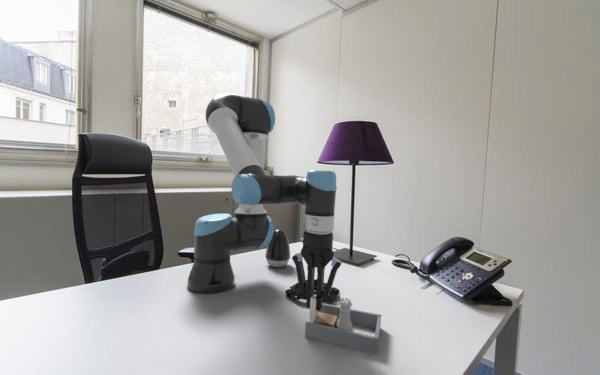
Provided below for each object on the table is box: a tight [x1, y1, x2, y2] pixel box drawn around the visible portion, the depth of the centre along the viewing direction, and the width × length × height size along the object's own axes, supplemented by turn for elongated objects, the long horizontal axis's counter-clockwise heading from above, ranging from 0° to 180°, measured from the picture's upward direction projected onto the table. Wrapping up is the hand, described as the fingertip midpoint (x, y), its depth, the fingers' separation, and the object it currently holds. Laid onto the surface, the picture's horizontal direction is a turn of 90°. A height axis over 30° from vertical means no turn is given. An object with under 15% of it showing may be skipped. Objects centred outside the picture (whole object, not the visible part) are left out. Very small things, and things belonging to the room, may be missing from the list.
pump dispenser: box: [265, 228, 291, 268], centre depth 121 cm, size 10×10×15 cm
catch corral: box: [304, 303, 382, 355], centre depth 73 cm, size 17×12×4 cm
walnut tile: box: [314, 312, 338, 328], centre depth 75 cm, size 5×5×2 cm
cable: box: [284, 278, 341, 304], centre depth 95 cm, size 17×14×4 cm
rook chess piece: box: [335, 297, 354, 332], centre depth 74 cm, size 4×4×8 cm
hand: (313, 320), depth 76 cm, fingers closed
